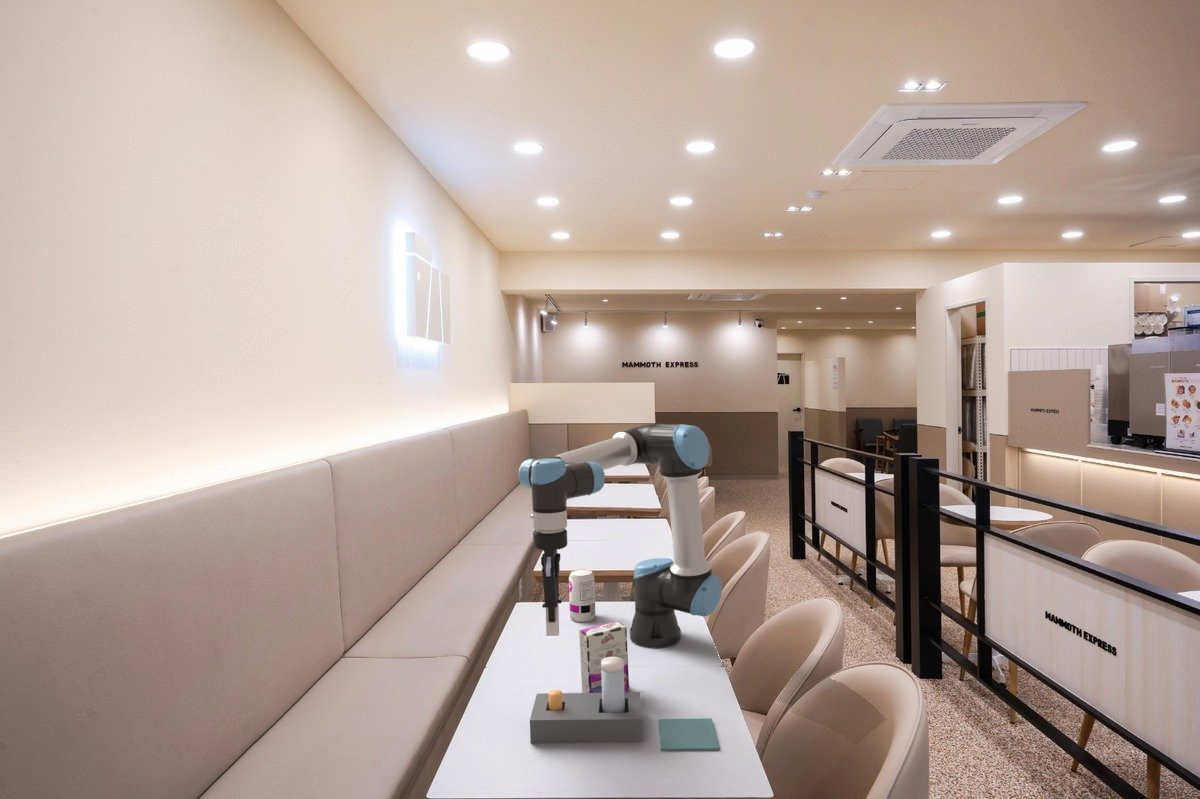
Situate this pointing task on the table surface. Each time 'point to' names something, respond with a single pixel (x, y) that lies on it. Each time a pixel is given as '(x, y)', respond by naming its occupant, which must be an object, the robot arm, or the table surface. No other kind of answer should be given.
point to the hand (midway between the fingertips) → (552, 634)
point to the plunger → (555, 700)
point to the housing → (585, 720)
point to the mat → (687, 735)
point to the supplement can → (582, 595)
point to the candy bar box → (601, 653)
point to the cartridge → (613, 685)
